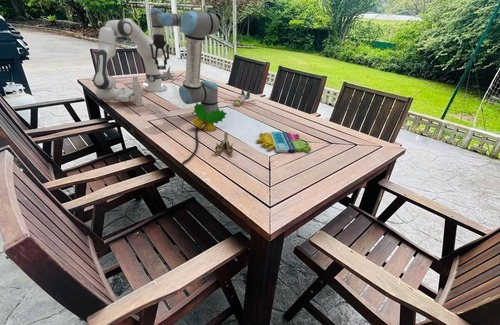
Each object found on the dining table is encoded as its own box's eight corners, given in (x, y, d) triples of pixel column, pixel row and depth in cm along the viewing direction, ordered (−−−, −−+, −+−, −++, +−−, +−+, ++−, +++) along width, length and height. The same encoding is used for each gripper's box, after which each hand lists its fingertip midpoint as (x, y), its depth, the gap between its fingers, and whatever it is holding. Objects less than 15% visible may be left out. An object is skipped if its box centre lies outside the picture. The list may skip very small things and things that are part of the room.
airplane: (145, 76, 282) (144, 66, 276) (174, 74, 295) (174, 65, 290) (151, 85, 253) (150, 74, 248) (183, 83, 266) (183, 72, 261)
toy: (261, 91, 228) (254, 99, 202) (261, 99, 231) (253, 108, 205) (231, 87, 233) (220, 95, 207) (230, 95, 236) (219, 104, 210)
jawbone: (234, 135, 144) (233, 125, 135) (233, 160, 138) (232, 151, 129) (217, 135, 144) (216, 125, 135) (216, 160, 138) (214, 150, 129)
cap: (165, 68, 194) (165, 65, 193) (162, 69, 191) (162, 66, 190) (160, 68, 195) (160, 65, 194) (157, 69, 191) (157, 66, 190)
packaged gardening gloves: (313, 150, 142) (258, 149, 139) (312, 153, 143) (258, 152, 140) (301, 132, 164) (254, 130, 161) (301, 134, 165) (254, 133, 162)
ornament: (218, 133, 171) (224, 110, 169) (221, 134, 163) (227, 111, 161) (186, 125, 162) (192, 101, 160) (189, 126, 155) (195, 101, 153)
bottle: (134, 105, 194) (129, 77, 185) (136, 103, 199) (131, 75, 189) (141, 105, 195) (137, 77, 185) (143, 103, 200) (139, 76, 190)
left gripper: (113, 94, 183) (133, 95, 184) (124, 87, 200) (142, 88, 201) (114, 103, 186) (134, 104, 187) (125, 95, 203) (143, 96, 204)
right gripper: (170, 34, 188) (173, 68, 199) (144, 33, 181) (148, 68, 193) (172, 35, 182) (174, 70, 193) (145, 34, 175) (149, 70, 187)
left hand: (138, 96), depth 194 cm, fingers closed on bottle, 5 cm apart
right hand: (161, 69), depth 193 cm, fingers closed on cap, 4 cm apart
